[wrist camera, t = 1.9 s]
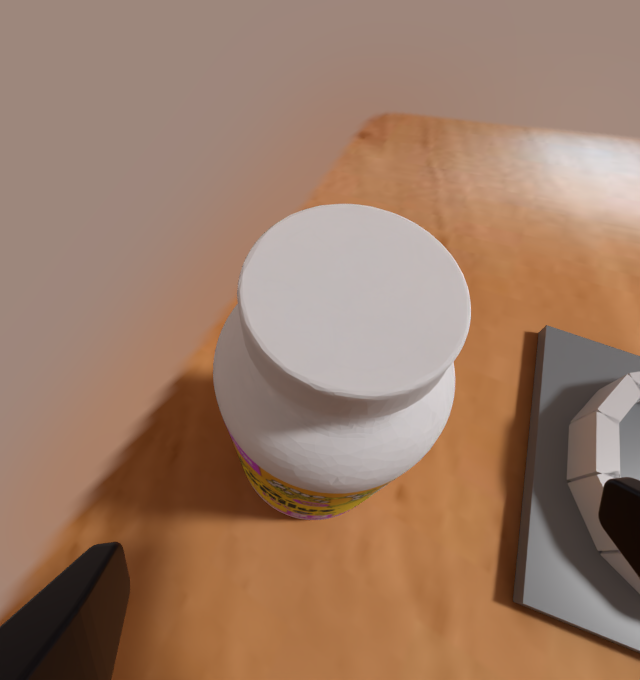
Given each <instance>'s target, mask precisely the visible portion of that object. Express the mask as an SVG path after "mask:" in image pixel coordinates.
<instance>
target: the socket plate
mask: <svg viewBox="0 0 640 680" xmlns="http://www.w3.org/2000/svg"><path fill="white" fill-rule="evenodd" d="M621 477H631V478H635V479H637V480H640V356H637V355H634V354H631V353H628V352H625V351H622V350H619V349H616V348H613V347H610V346H607V345H604V344H601V343H598V342H595V341H592V340H589V339H586V338H583V337H580V336H577V335H574V334H571V333H568V332H565V331H562V330H559V329H556V328H553V327H550V326H547V325H546V326H545V327H544V328H543V329H542V330H541V331H540V332H539V335H538V345H537V355H536V366H535V376H534V387H533V397H532V407H531V418H530V428H529V439H528V449H527V459H526V470H525V480H524V491H523V501H522V511H521V522H520V532H519V543H518V553H517V563H516V574H515V584H514V595H513V602H515V603H518V604H520V605H523V606H525V607H527V608H530V609H532V610H535V611H537V612H540V613H542V614H545V615H547V616H550V617H552V618H555V619H557V620H559V621H562V622H564V623H567V624H569V625H572V626H574V627H577V628H579V629H582V630H584V631H586V632H589V633H591V634H594V635H596V636H599V637H601V638H604V639H606V640H609V641H611V642H613V643H616V644H618V645H621V646H623V647H626V648H628V649H631V650H633V651H636V652H638V653H640V578H639V577H638V575H637V574H636V573H635V571H634V570H633V569H632V567H631V566H630V565H629V563H628V562H627V560H626V559H625V558H624V556H623V555H622V554H621V552H620V551H619V550H618V548H617V547H616V546H615V544H614V543H613V541H612V540H611V539H610V537H609V536H608V535H607V533H606V532H605V531H604V529H603V528H602V526H601V524H600V521H599V518H598V511H599V506H600V502H601V497H602V492H603V487H604V484H605V482H606V481H607V480H609V479H613V478H621Z"/></svg>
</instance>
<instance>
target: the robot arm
mask: <svg viewBox="0 0 640 680" xmlns="http://www.w3.org/2000/svg"><path fill="white" fill-rule="evenodd" d="M598 518H599V521H600V524H601V526H602V528H603V529H604V531H605V532H606V533H607V535H608V536H609V537H610V539H611V540H612V541H613V543H614V544H615V546H616V547H617V548H618V550H619V551H620V552H621V554H622V555H623V556H624V558H625V559H626V560H627V562H628V563H629V565H630V566H631V567H632V569H633V570H634V571H635V573H636V574H637V575H638V577H639V578H640V480H637V479H635V478H631V477H621V478H613V479H609V480H607V481H606V482H605V484H604V487H603V492H602V497H601V502H600V506H599V511H598ZM129 593H130V579H129V574H128V569H127V564H126V560H125V555H124V550H123V547H122V545H121V544H120V543H118V542H111V543H103V544H97V545H94V546H92V547H91V548H89V549H88V550H87V551H86V552H85V553H83V554H82V555H81V556H80V557H79V558H78V559H77V560H75V561H74V562H73V563H72V564H71V565H70V566H69V567H68V568H66V569H65V570H64V571H63V572H62V573H61V574H60V575H58V576H57V577H56V578H55V579H54V580H53V581H52V582H51V583H49V584H48V585H47V586H46V587H45V588H44V589H43V590H41V591H40V592H39V593H38V594H37V595H36V596H35V597H33V598H32V599H31V600H30V601H29V602H28V603H27V604H26V605H24V606H23V607H22V608H21V609H20V610H19V611H18V612H16V613H15V614H14V615H13V616H12V617H11V618H10V619H9V620H7V621H6V622H5V623H4V624H3V625H2V626H1V627H0V680H111V678H112V673H113V669H114V664H115V659H116V655H117V650H118V645H119V641H120V636H121V631H122V627H123V622H124V617H125V613H126V608H127V604H128V599H129Z"/></svg>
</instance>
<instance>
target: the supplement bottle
mask: <svg viewBox="0 0 640 680" xmlns="http://www.w3.org/2000/svg"><path fill="white" fill-rule="evenodd" d="M237 297H238V304H237V305H236V306H235V308H234V309H233V311H232V312H231V314H230V315H229V317H228V319H227V320H226V322H225V324H224V326H223V328H222V331H221V333H220V336H219V339H218V342H217V346H216V350H215V356H214V363H213V381H214V389H215V394H216V399H217V402H218V406H219V409H220V412H221V414H222V417H223V420H224V422H225V424H226V427H227V429H228V431H229V433H230V436H231V439H232V442H233V444H234V446H235V449H236V452H237V454H238V457H239V459H240V462H241V464H242V467H243V469H244V471H245V474H246V476H247V478H248V480H249V482H250V483H251V485H252V487H253V488H254V490H255V491H256V492H257V493H258V495H259V496H260V497H261V498H262V499H263V500H264V501H265V502H266V503H268V504H269V505H270V506H271V507H273V508H274V509H276V510H278V511H279V512H282V513H284V514H286V515H289V516H292V517H295V518H299V519H305V520H321V519H328V518H332V517H335V516H338V515H341V514H343V513H345V512H347V511H349V510H351V509H352V508H354V507H356V506H357V505H359V504H360V503H362V502H363V501H365V500H366V499H367V498H369V497H370V496H372V495H373V494H374V493H376V492H377V491H379V490H380V489H381V488H383V487H384V486H386V485H387V484H388V483H390V482H391V481H393V480H395V479H396V478H397V477H399V476H401V475H402V474H403V473H405V472H406V471H408V470H409V469H410V468H411V467H413V466H414V465H415V464H416V463H417V462H419V461H420V460H421V459H422V458H423V456H424V455H425V454H426V453H427V452H428V451H429V450H430V449H431V447H432V446H433V444H434V443H435V442H436V440H437V439H438V437H439V436H440V434H441V432H442V430H443V429H444V427H445V425H446V422H447V420H448V417H449V415H450V411H451V408H452V404H453V400H454V391H455V370H454V360H455V359H456V357H457V356H458V355H459V353H460V351H461V349H462V347H463V345H464V343H465V340H466V337H467V334H468V331H469V326H470V320H471V303H470V296H469V290H468V287H467V284H466V281H465V278H464V276H463V273H462V272H461V270H460V268H459V266H458V264H457V262H456V261H455V260H454V258H453V257H452V255H451V254H450V253H449V252H448V251H447V249H446V248H445V247H444V246H443V245H442V244H441V243H440V242H439V241H438V240H437V239H436V238H435V237H433V236H432V235H431V234H430V233H429V232H427V231H426V230H424V229H423V228H421V227H420V226H419V225H417V224H416V223H414V222H412V221H410V220H408V219H406V218H404V217H402V216H399V215H397V214H395V213H392V212H389V211H386V210H382V209H378V208H375V207H371V206H364V205H356V204H333V205H320V206H316V207H312V208H309V209H305V210H302V211H299V212H297V213H294V214H292V215H290V216H288V217H286V218H285V219H283V220H281V221H279V222H278V223H276V224H275V225H274V226H272V227H271V228H269V229H268V230H267V231H266V232H265V233H264V234H263V235H262V236H261V237H260V238H259V239H258V241H257V242H256V243H255V244H254V246H253V247H252V249H251V250H250V252H249V254H248V255H247V257H246V259H245V261H244V264H243V266H242V270H241V273H240V276H239V281H238V290H237Z"/></svg>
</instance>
